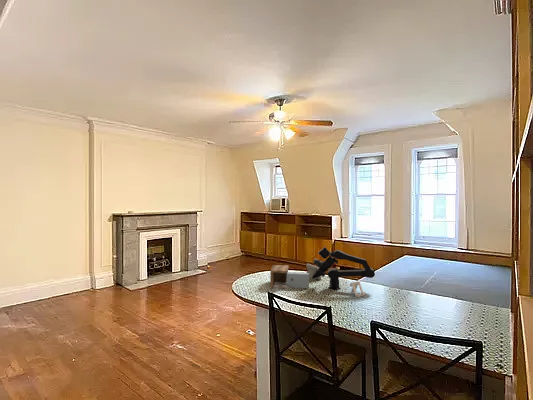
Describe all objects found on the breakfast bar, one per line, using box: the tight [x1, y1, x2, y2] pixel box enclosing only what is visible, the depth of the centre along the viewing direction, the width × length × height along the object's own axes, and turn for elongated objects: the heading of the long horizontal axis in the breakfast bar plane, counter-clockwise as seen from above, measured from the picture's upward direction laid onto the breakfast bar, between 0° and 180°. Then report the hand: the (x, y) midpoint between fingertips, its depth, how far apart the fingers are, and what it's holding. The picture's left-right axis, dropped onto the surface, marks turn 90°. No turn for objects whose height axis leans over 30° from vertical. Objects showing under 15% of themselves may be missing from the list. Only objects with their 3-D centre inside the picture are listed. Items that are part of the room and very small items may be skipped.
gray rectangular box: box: [287, 271, 310, 289], centre depth 230 cm, size 16×5×10 cm, turn 83°
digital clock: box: [305, 263, 322, 281], centre depth 256 cm, size 16×9×11 cm, turn 12°
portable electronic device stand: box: [349, 280, 367, 298], centre depth 212 cm, size 9×8×8 cm
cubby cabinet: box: [269, 264, 290, 289], centre depth 237 cm, size 14×18×12 cm
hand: (312, 278), depth 230 cm, fingers closed
